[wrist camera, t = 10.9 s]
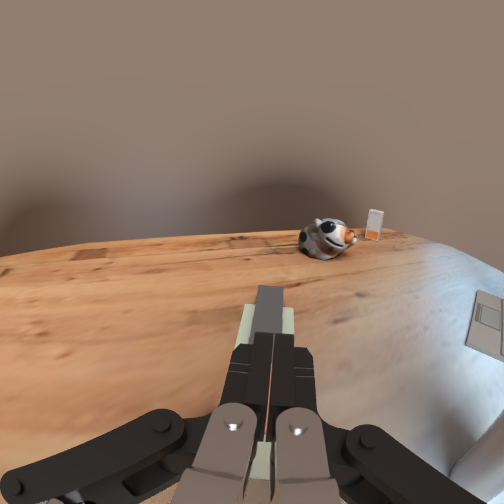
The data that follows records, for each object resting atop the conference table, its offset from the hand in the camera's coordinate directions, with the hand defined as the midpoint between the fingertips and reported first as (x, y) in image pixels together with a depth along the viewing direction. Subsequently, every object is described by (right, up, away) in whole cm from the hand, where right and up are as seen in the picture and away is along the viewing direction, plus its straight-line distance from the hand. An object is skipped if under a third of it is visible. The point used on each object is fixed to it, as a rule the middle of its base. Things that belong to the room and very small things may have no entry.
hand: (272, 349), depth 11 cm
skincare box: (+49, +9, +101) cm, 113 cm away
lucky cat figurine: (+23, +3, +80) cm, 83 cm away
